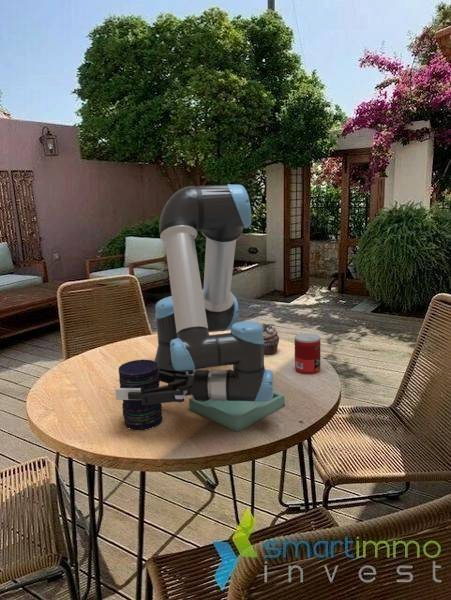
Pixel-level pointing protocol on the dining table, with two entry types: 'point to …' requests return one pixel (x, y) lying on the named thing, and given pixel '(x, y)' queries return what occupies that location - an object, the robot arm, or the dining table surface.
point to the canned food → (307, 353)
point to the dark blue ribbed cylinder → (133, 410)
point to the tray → (237, 410)
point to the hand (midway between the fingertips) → (123, 384)
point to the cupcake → (270, 339)
